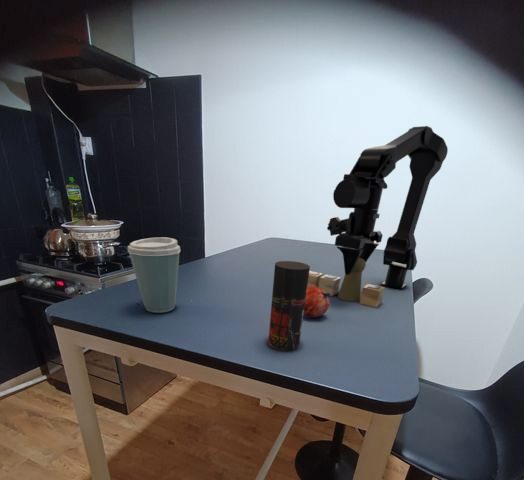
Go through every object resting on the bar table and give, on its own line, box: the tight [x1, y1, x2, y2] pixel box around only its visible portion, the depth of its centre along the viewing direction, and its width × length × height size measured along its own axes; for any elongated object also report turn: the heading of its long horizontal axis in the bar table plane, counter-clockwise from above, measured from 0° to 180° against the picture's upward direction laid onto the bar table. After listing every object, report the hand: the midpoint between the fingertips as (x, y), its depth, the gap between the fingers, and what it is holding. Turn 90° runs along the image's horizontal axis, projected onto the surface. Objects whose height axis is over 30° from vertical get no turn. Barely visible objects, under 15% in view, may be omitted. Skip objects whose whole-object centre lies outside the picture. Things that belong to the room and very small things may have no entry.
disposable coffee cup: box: [127, 236, 182, 314], centre depth 69 cm, size 11×11×15 cm
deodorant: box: [267, 260, 311, 352], centre depth 57 cm, size 6×6×15 cm
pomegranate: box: [303, 286, 333, 319], centre depth 73 cm, size 7×7×10 cm
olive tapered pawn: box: [337, 258, 367, 302], centre depth 86 cm, size 6×6×11 cm
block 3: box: [359, 283, 386, 308], centre depth 85 cm, size 4×4×5 cm
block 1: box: [307, 270, 324, 287], centre depth 93 cm, size 4×4×5 cm
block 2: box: [318, 274, 342, 297], centre depth 91 cm, size 4×4×5 cm
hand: (353, 271), depth 85 cm, fingers open, 9 cm apart
